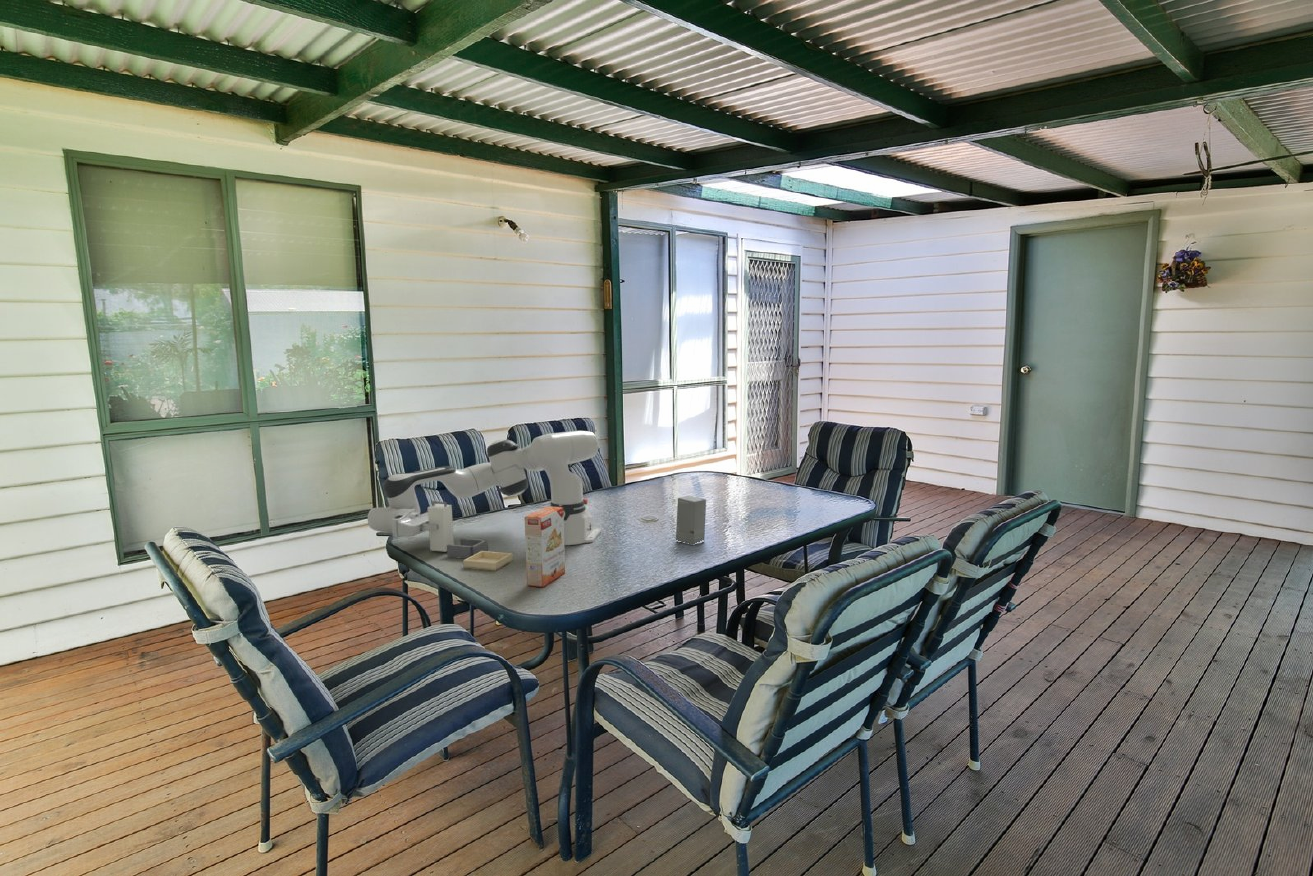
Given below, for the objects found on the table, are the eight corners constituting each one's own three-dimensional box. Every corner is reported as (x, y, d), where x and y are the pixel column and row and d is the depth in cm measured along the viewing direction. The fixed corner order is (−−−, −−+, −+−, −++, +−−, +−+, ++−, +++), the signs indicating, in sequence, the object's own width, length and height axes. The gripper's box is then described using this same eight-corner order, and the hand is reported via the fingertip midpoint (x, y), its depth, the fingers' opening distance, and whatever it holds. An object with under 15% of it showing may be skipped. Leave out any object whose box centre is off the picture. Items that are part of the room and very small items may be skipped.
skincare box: (675, 542, 248) (674, 497, 246) (688, 537, 253) (688, 494, 251) (694, 546, 242) (693, 501, 240) (707, 541, 248) (706, 497, 245)
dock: (462, 549, 245) (462, 538, 244) (488, 551, 241) (487, 540, 241) (447, 556, 236) (446, 545, 236) (473, 559, 233) (473, 547, 232)
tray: (482, 558, 234) (481, 550, 234) (513, 560, 230) (512, 553, 230) (463, 568, 224) (463, 560, 224) (495, 571, 220) (495, 563, 220)
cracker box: (544, 588, 204) (541, 517, 201) (526, 586, 206) (522, 516, 203) (566, 573, 217) (564, 506, 214) (549, 571, 219) (546, 505, 216)
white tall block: (439, 546, 246) (436, 499, 243) (454, 547, 244) (451, 500, 241) (430, 550, 241) (427, 502, 238) (445, 551, 239) (442, 504, 237)
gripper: (428, 523, 255) (461, 525, 251) (390, 538, 236) (424, 542, 232) (427, 505, 254) (460, 508, 250) (388, 520, 235) (423, 523, 231)
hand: (443, 524), depth 241 cm, fingers closed on white tall block, 5 cm apart
